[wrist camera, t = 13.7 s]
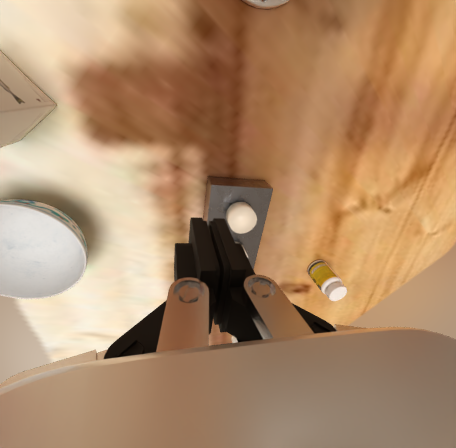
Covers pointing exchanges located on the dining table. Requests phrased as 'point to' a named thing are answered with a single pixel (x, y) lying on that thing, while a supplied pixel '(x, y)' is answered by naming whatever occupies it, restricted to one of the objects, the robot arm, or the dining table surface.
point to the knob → (241, 217)
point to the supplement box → (19, 103)
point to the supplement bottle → (327, 280)
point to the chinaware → (38, 250)
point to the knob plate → (239, 192)
